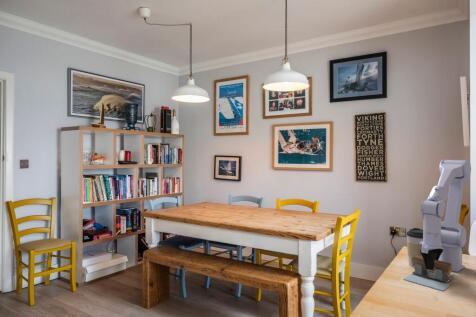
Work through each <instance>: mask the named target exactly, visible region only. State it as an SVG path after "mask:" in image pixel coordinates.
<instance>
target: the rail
mask: <svg viewBox="0 0 476 317" xmlns="http://www.w3.org/2000/svg"><path fill="white" fill-rule="evenodd" d="M415 263H418V264H422V265H423V266H422V268H424V269H426V267H425V263H424V259H423V257H422V256H418V255H416V256H414V257H412V264H413V266H415ZM452 267H453V265H451V263H448V262H444V261H439V260H435V261H434V267H433V270H430V272H435V268H438V269H442V270H443V274H447V275H448V276H449V274H451V273H453V271H452Z"/></svg>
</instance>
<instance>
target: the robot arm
mask: <svg viewBox="0 0 476 317" xmlns="http://www.w3.org/2000/svg"><path fill="white" fill-rule="evenodd" d="M471 165H472V164H471V162H470V161H469V160H467V159H465V160H464V159H462V160H461V159H442V160H441V161H440V163H439V165H438V166H439V167H438V170H439V173H440V176H439V179H438V182H437V185H434V186H433V187H432V188H431V190H430V193H429V195H428V196H427V199H426V200H423V201H422V202H421V204H420V213H421V219H422V220H423V222H422V223H423V225H422V228H423V229H422V230H423V242H420V244H422V247H421V250H420V253H421V255H422V257H423V259H424V263H425V267H426V269H428V271H431V270H433V267H434V261H435V260H439V261H444V262H448V263H451V265H453V267H452V272H456V273H459V272H460V271H461V270H463V269H464V268H465V267H466V266H465V265H464V264H463V250H462V248H463V247H465V245H466V243H467V230H466V228H465V226H464V225H462V224H461V223H460V217H461V210H462V208H461V207H462V203H463V194H464V188H465V183H469V181H470V178H471V174H472V173H471V172H472V166H471ZM446 201H447V204H446ZM445 209H446V210H445ZM444 214H445V216H444ZM443 216H444V220H443V221H442V217H443Z"/></svg>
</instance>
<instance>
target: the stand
mask: <svg viewBox="0 0 476 317" xmlns="http://www.w3.org/2000/svg"><path fill="white" fill-rule="evenodd" d="M422 266H423V265H422V264H418V263H415V268H414V271H413V272H412V273H411V274H412V275H415V276H419V277H423V278H426V279H430V280H434V281H437V282H441V283H445V284H447V282H449V281H450V280H451V276H449V274H448V275H447V274H443V270H442V269H438V268H435V271H434V272H433V271H430V270H428V269H424V268H422Z"/></svg>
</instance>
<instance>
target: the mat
mask: <svg viewBox="0 0 476 317" xmlns="http://www.w3.org/2000/svg"><path fill="white" fill-rule="evenodd" d="M403 281H407V282H410V283H413V284H416V285H420V286H424V287H427V288H430V289H434V290H438V291H441V292H444V291H445V290H447V289H448V288H449V287H451V284H448V283H441V282H438V281H434V280H430V279H427V278H423V277H420V276H416V275H412V273H411V274H409V275H408V276H406V277H405V278H403Z"/></svg>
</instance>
